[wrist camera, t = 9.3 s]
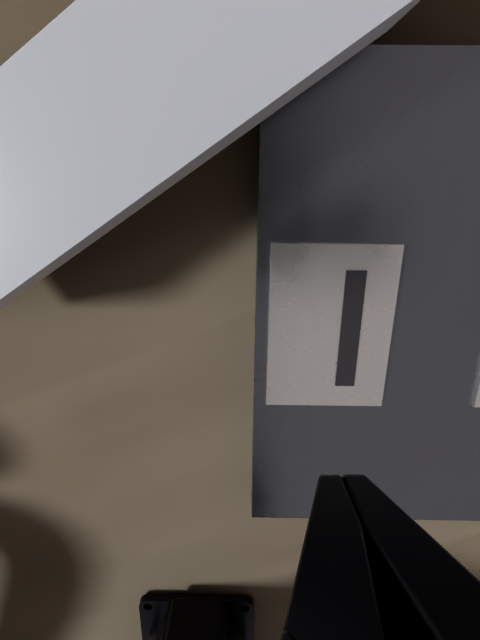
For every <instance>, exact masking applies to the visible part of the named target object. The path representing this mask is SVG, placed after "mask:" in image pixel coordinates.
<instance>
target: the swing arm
mask: <svg viewBox="0 0 480 640" xmlns="http://www.w3.org/2000/svg"><path fill="white" fill-rule="evenodd" d="M419 1H420V0H75V1H74V2H73V3H72V4H71V5H70V6H69V7H67V8H66V9H65V10H64V11H63V12H62V13H61V14H60V15H58V16H57V17H56V18H55V19H54V20H53V21H52V22H50V23H49V24H48V25H47V26H46V27H45V28H44V29H42V30H41V31H40V32H39V33H38V34H37V35H36V36H34V37H33V38H32V39H31V40H30V41H29V42H28V43H26V44H25V45H24V46H23V47H22V48H21V49H20V50H18V51H17V52H16V53H15V54H14V55H13V56H12V57H11V58H9V59H8V60H7V61H6V62H5V63H4V64H3V65H1V66H0V309H2V308H3V307H5V306H6V305H7V304H9V303H10V302H11V301H13V300H14V299H16V298H17V297H18V296H20V295H21V294H23V293H24V292H25V291H27V290H28V289H30V288H31V287H32V286H34V285H35V284H37V283H38V282H39V281H41V280H42V279H43V278H45V277H46V276H48V275H49V274H50V273H52V272H53V271H55V270H56V269H57V268H59V267H60V266H62V265H63V264H64V263H66V262H67V261H68V260H70V259H71V258H73V257H74V256H75V255H77V254H78V253H80V252H81V251H82V250H84V249H85V248H87V247H88V246H89V245H91V244H92V243H94V242H95V241H96V240H98V239H99V238H100V237H102V236H103V235H105V234H106V233H107V232H109V231H110V230H112V229H113V228H114V227H116V226H117V225H119V224H120V223H121V222H123V221H124V220H126V219H127V218H128V217H130V216H131V215H132V214H134V213H135V212H137V211H138V210H139V209H141V208H142V207H144V206H145V205H146V204H148V203H149V202H151V201H152V200H153V199H155V198H156V197H158V196H159V195H160V194H162V193H163V192H164V191H166V190H167V189H169V188H170V187H171V186H173V185H174V184H176V183H177V182H178V181H180V180H181V179H183V178H184V177H185V176H187V175H188V174H190V173H191V172H192V171H194V170H195V169H196V168H198V167H199V166H201V165H202V164H203V163H205V162H206V161H208V160H209V159H210V158H212V157H213V156H215V155H216V154H217V153H219V152H220V151H222V150H223V149H224V148H226V147H227V146H228V145H230V144H231V143H233V142H234V141H235V140H237V139H238V138H240V137H241V136H242V135H244V134H245V133H247V132H248V131H249V130H251V129H252V128H254V127H255V126H256V125H258V124H259V123H260V122H262V121H263V120H265V119H266V118H267V117H269V116H270V115H272V114H273V113H274V112H276V111H277V110H279V109H280V108H281V107H283V106H284V105H286V104H287V103H288V102H290V101H291V100H292V99H294V98H295V97H297V96H298V95H299V94H301V93H302V92H304V91H305V90H306V89H308V88H309V87H311V86H312V85H313V84H315V83H316V82H318V81H319V80H320V79H322V78H323V77H324V76H326V75H327V74H329V73H330V72H331V71H333V70H334V69H336V68H337V67H338V66H340V65H341V64H343V63H344V62H345V61H347V60H348V59H350V58H351V57H352V56H354V55H355V54H356V53H358V52H359V51H361V50H362V49H363V48H365V47H366V46H368V45H369V44H370V43H372V42H373V41H375V40H376V39H377V38H379V37H380V36H381V35H383V34H384V33H386V32H387V31H388V30H389V29H390V28H392V27H393V26H394V25H395V24H396V23H397V22H398V21H399V20H400V19H401V18H402V17H403V16H404V15H405V14H407V13H408V12H409V11H410V10H411V9H412V8H413V7H414V6H415V5H416V4H417V3H418V2H419Z"/></svg>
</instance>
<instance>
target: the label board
mask: <svg viewBox="0 0 480 640" xmlns="http://www.w3.org/2000/svg"><path fill="white" fill-rule="evenodd" d="M322 474H339V475H340V476H341V477H342V476H343V475H344V474H363V475H365V476H366V477H368V478H369V479H370V480H371V481H372V482H373V483H374V484H375V485H376V486H377V487H378V488H379V489H381V490H382V491H383V492H384V493H385V494H386V495H387V496H388V497H389V498H390V499H391V500H392V501H394V502H395V503H396V504H397V505H398V506H399V507H400V508H401V509H402V510H403V511H404V512H405V513H407V514H408V515H409V516H410V517H411V518H412V519H413V520H473V521H480V45H368V46H366V47H365V48H363V49H362V50H361V51H359V52H358V53H356V54H355V55H354V56H352V57H351V58H350V59H348V60H347V61H345V62H344V63H343V64H341V65H340V66H338V67H337V68H336V69H334V70H333V71H331V72H330V73H329V74H327V75H326V76H324V77H323V78H322V79H320V80H319V81H318V82H316V83H315V84H313V85H312V86H311V87H309V88H308V89H306V90H305V91H304V92H302V93H301V94H299V95H298V96H297V97H295V98H294V99H292V100H291V101H290V102H288V103H287V104H286V105H284V106H283V107H281V108H280V109H279V110H277V111H276V112H274V113H273V114H272V115H270V116H269V117H267V118H266V119H265V120H263V121H262V122H260V126H259V173H258V220H257V267H256V314H255V361H254V409H253V456H252V517H270V518H309V517H310V513H311V508H312V504H313V500H314V495H315V491H316V487H317V482H318V478H319V476H320V475H322Z"/></svg>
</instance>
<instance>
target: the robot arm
mask: <svg viewBox="0 0 480 640" xmlns="http://www.w3.org/2000/svg"><path fill="white" fill-rule="evenodd" d="M139 611H140V620H141V629H142V639H143V640H253V628H254V600H253V599H252V598H251V597H249V596H244V595H183V594H145V595H143V596H142V597H141V600H140V605H139ZM281 640H480V581H479V580H478V579H477V578H476V577H475V576H474V575H473V574H471V573H470V572H469V571H468V570H467V569H466V568H465V567H464V566H463V565H462V564H461V563H460V562H458V561H457V560H456V559H455V558H454V557H453V556H452V555H451V554H450V553H449V552H448V551H447V550H445V549H444V548H443V547H442V546H441V545H440V544H439V543H438V542H437V541H436V540H435V539H434V538H432V537H431V536H430V535H429V534H428V533H427V532H426V531H425V530H424V529H423V528H422V527H421V526H420V525H418V524H417V523H416V522H415V521H414V520H413V519H412V518H411V517H410V516H409V515H408V514H407V513H405V512H404V511H403V510H402V509H401V508H400V507H399V506H398V505H397V504H396V503H395V502H394V501H392V500H391V499H390V498H389V497H388V496H387V495H386V494H385V493H384V492H383V491H382V490H381V489H379V488H378V487H377V486H376V485H375V484H374V483H373V482H372V481H371V480H370V479H369V478H368V477H366V476H365V475H363V474H344V475H343V476H342V477H341V476H340V475H339V474H322V475H320V476H319V478H318V482H317V487H316V491H315V495H314V500H313V504H312V508H311V513H310V517H309V521H308V526H307V530H306V534H305V539H304V543H303V547H302V551H301V556H300V560H299V564H298V569H297V573H296V577H295V582H294V586H293V590H292V595H291V599H290V603H289V608H288V612H287V616H286V621H285V625H284V633H283V634H282V637H281Z"/></svg>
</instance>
